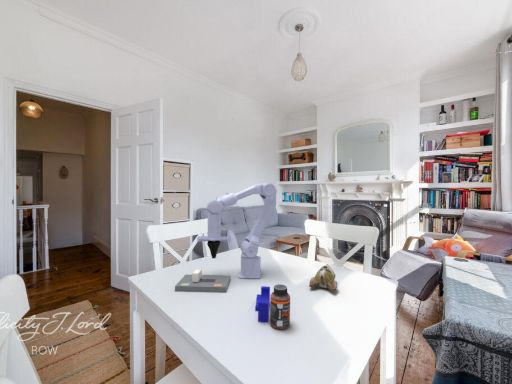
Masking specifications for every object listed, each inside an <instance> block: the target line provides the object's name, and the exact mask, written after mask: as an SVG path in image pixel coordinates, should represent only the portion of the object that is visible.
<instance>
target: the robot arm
mask: <svg viewBox="0 0 512 384" xmlns="http://www.w3.org/2000/svg"><path fill="white" fill-rule="evenodd" d="M277 194H278V191H277V188H276V186H275V184H274V183H273V182H260V183H257V184H253V185H251V186H249V187H247V188H245V189H242V190H240V191H237V193H233V192H225V194H224V195H221V196H219V197H218V196H217V197H215V199H212V200H210V201H208V202H207V205H206V208H207V210H208V211H207V235H205V236H204V235H202V236H201V235H200V236H198V237H197V239H196V240H197V242H207V243H206V244H207V246H208V249H209V251H210V254H211V259H216V258H217V253H218V250H219V247H220V245H221V242H222V243H223V242H227V243H231V241H232V237H231V236H224V235H222V232H221V231H222V224H221V223H222V219H221V212H222V210H226V209H228V208H230V207H233V206H235V205H237V204H238V201H239V200H242V199H244V198H246V197H249V196H252V195H259V197H260V198H261V199H262V202H263V206H262V208H261V210H260V212H259V215H258V216H257V218H256V220H255V221H254V224H253V226H252V228H251V230H250V232H249V234H247V235H246V236H245V238H244V240H242V241H241V242H240V244H239V248H240V250H241V254H240V271H239V272H240V273H239V275H238V278H239V279H261V273H262V268H261V266H262V265H261V262H262V260H261V259H262V257H261V256H260V255H258V253H259V246H260V239H261V237H262V235H263V233H264V230H265V229H266V227H267V225H268V223H269V220H270V219H271V216H272V214H273V212H274V210H275V209H276V207H277Z"/></svg>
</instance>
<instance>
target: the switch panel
mask: <svg viewBox="0 0 512 384" xmlns="http://www.w3.org/2000/svg"><path fill="white" fill-rule="evenodd" d="M230 283H231V275H226V274H225V275H223V274H222V275H221V274H219V275H218V274H216V275H215V274H202V278H201V279H200V281H199V282H192V274H184V275H183V277H182V278H181V279H180V280H179V281H178V282H177V283H176V285H175V286H174V292H189V293H190V292H195V293H198V292H199V293H227V291H228V289H229V286H230Z"/></svg>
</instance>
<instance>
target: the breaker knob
mask: <svg viewBox="0 0 512 384" xmlns="http://www.w3.org/2000/svg"><path fill="white" fill-rule="evenodd" d="M191 275H192V282H199V281H200V279H201V278H202V275H203V269H202V268H200V269H199V268H196V269H195V270H193V272H192V273H191Z"/></svg>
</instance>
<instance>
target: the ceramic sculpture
mask: <svg viewBox="0 0 512 384" xmlns="http://www.w3.org/2000/svg"><path fill="white" fill-rule="evenodd" d="M336 275H337V274H336V272H335V271H334V269H333V268H332V267H331V266H330V265H329V264H328V263H326V264H325V265H323V266H321V267H320V268H319V270H318V271H317V272H316V274H315V276H314V277H311V278H310V280H309V285H308V286H309V288H317V287H320V288H322V289H328V290H329V291H331V292H335V291H336V290H337V287H338V283H337V281H336V280H335V279H336Z"/></svg>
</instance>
